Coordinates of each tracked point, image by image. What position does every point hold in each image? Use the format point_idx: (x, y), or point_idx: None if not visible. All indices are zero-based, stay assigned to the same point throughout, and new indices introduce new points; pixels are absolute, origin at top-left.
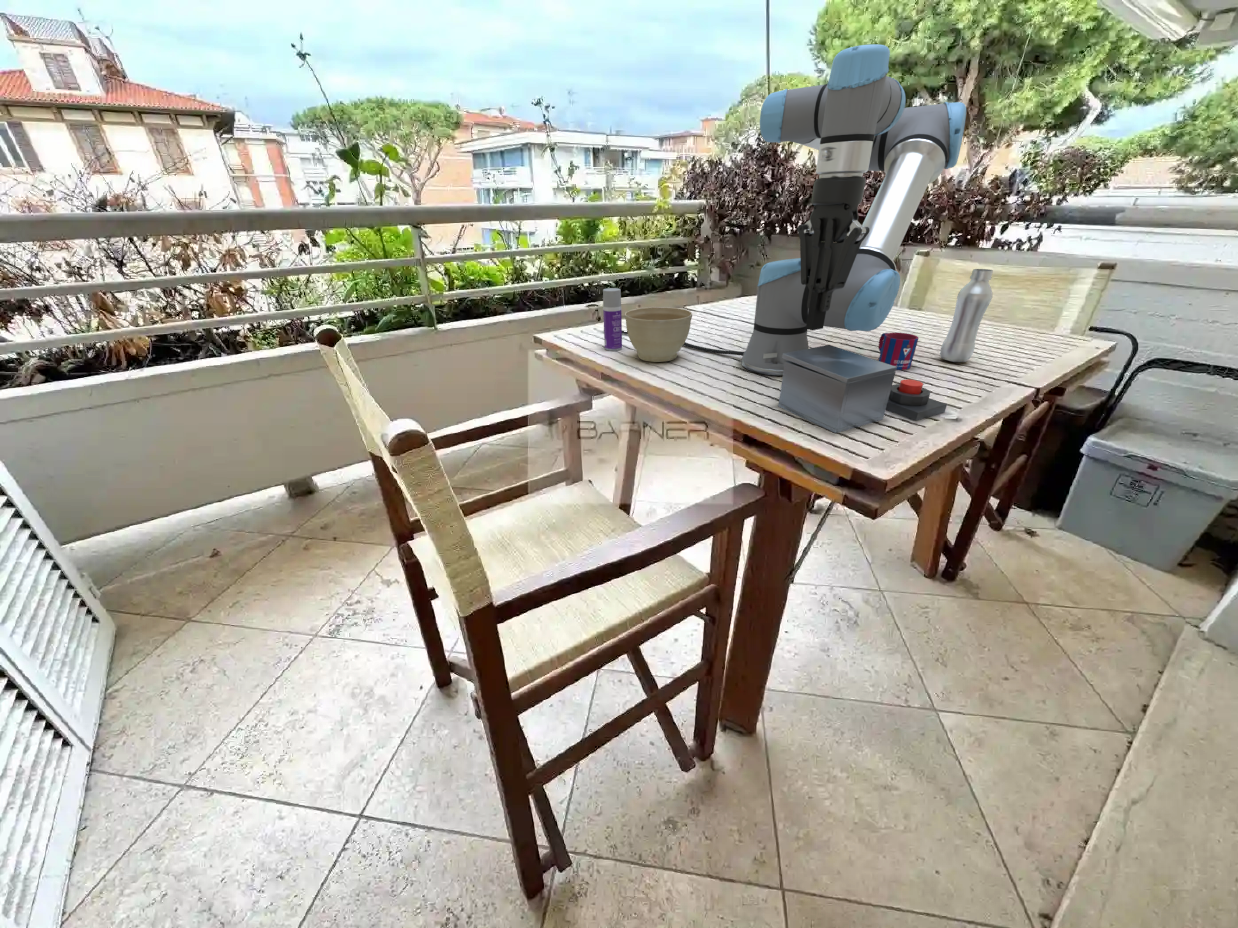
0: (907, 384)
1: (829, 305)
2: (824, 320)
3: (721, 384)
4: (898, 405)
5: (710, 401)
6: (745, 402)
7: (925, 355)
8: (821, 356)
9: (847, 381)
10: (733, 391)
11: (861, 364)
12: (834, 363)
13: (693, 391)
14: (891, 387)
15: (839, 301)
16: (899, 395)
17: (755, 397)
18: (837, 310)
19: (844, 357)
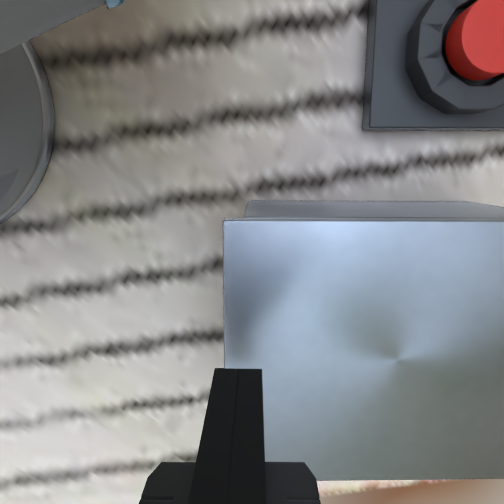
0: (501, 66)
1: (316, 496)
2: (261, 392)
3: (25, 389)
4: (480, 126)
5: (129, 488)
6: (178, 420)
7: None
8: (332, 382)
9: None
10: (92, 395)
11: (487, 322)
12: (418, 400)
13: (43, 483)
14: (431, 75)
15: (1, 8)
16: (482, 110)
17: (160, 374)
18: (35, 26)
19: (390, 309)
